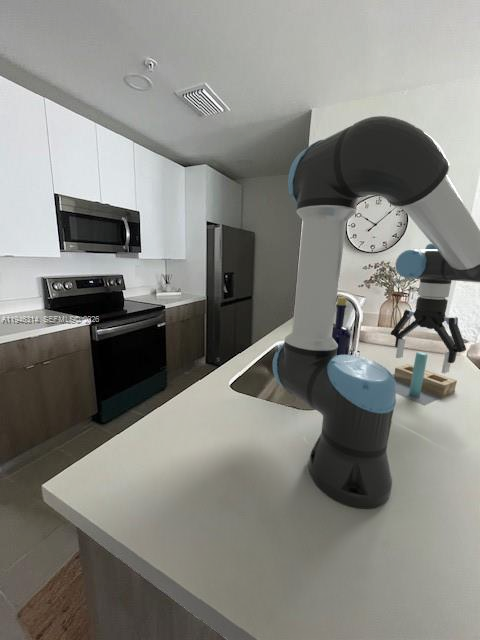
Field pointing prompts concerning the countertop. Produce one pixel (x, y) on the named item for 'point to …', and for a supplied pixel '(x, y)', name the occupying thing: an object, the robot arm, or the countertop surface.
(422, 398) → the mat
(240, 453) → the countertop surface
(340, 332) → the bottle
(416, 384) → the peg
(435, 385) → the block
